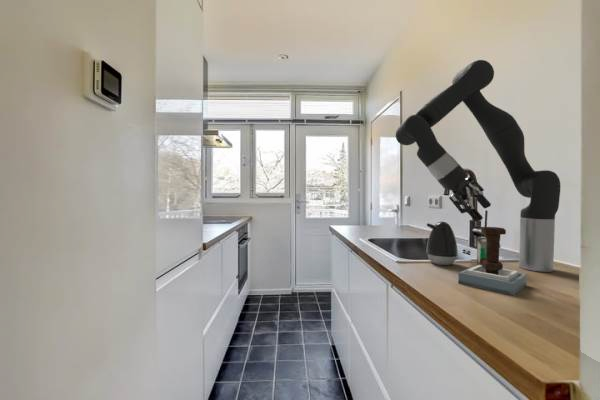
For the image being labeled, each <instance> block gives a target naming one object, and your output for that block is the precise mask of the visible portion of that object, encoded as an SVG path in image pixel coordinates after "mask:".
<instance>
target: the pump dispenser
mask: <svg viewBox="0 0 600 400" xmlns="http://www.w3.org/2000/svg"><path fill="white" fill-rule="evenodd" d="M426 226H427V227H428V228H430V229H431V231H430V233H429V236H428V239H427V240H428V241H427V243H426V250H425V251H426V255H427V258H428V259H429V261H430V262H431V263H433V264H434V265H438V266H449V265H452V264H454V263H455V261H456V260H457V257H458V255H459V250H458V244H457V238H456V236H455V235H456V234H455V232H454V230H453V228H452V227H451V225H450V224H449V223H448V222H445V221H439V222H437V223H435V224H432V223H426Z"/></svg>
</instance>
